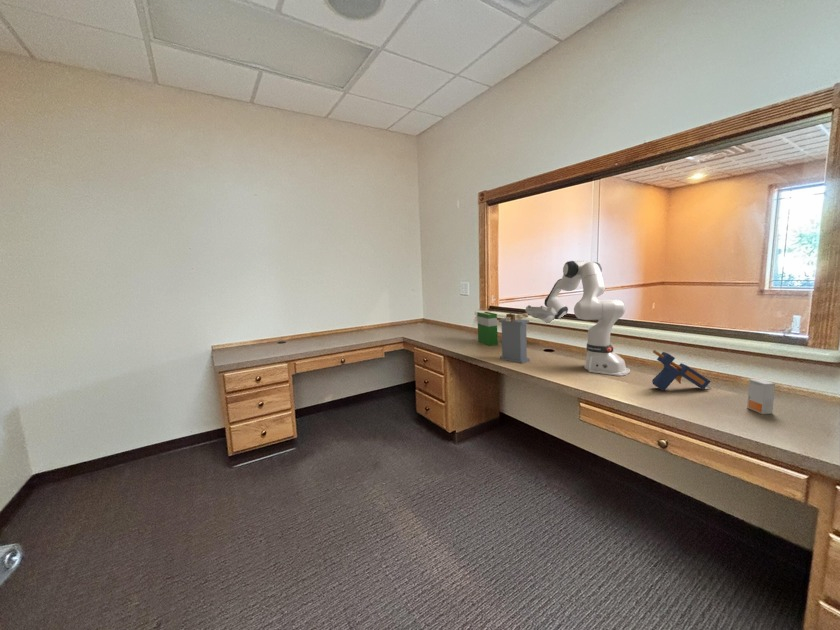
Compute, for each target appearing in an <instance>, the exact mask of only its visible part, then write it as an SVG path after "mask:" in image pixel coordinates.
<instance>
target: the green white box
mask: <svg viewBox="0 0 840 630" xmlns="http://www.w3.org/2000/svg"><path fill="white" fill-rule="evenodd" d="M476 315H477V317H476V318H477V342H478V343H480V344H482V345H486V346H488V347H490V346H491V347H492V346H498V343H499V342H498V313H494V312H488V311H484V312H480V311H479V312H476Z"/></svg>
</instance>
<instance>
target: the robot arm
mask: <svg viewBox="0 0 840 630" xmlns="http://www.w3.org/2000/svg"><path fill="white" fill-rule="evenodd" d="M602 268H603V267H602V265H601V264H600V263H599V262H595V261H585V260H569V261H568V260H567V262H565V264H563V268H562V273H563V275H562V277H561V278H560V279H558V280H557V281H555V283H554V285H553V286H552V288H551V290H550V292H549V294H548V295H547V297H546V298H545V299H544V303H543V304H544V305H540V306H531V305H527V306H526V307H525V313H528V316H531V317H532V318H534V319H538V320H542V321H543V322H544V323H546V324H547V323H550V322H551V321H552V320H554V319H559V318H561V317H563V316H564V315H567V314H568V311H569V307H568V306H567V305H565V303H563V301H562V300H561V299H560V298H559V297H558V296H559V294H560V293H561V290H563V291H565V292H571V291H574V290H576V289H577V288H578V287H579V285H580V282H581V284H582V290H583V292H582V293H583V294H582V297H581V298H580V300H579V301H578V302H576V303H575V304H574V308H573V313H574V315H575V317H576V319H579V320H580V319H581V320H583V321H584V320H585V321H590V320H592V321H594V320H595V321H596V320H597V322H596V324H594V325H593V326H591V327H589V329H587V343H586V359H585V362H584V363H585V364H584V366H583V368H584V369H585V370H587V371H588V372H589V373H595V374H602V375H610V376H616V377H617V376H618V377H620V376H621V377H623V376H626V375H629V374H630V372H631V370H630V368H628V367H626V362H625V359H624V358H623V357H621V356H620V355H619V354H617V353H616V352H615V351H614V349H615V345H613V346H612V344H611V332H612V330H613V326H614V324H616V323H617V321H618V320H619V319H621V318H622V317H623V316H624V315H625V312H626V307H625V304H624V303H623V300H619V299H613V298H612V299H611V298H610V299H609V298H607V299H598V297H601V295H603V294H604V292H605V291H606V285H605V281H604V280H605V279H604V277H603V274H602V270H603V269H602ZM566 313H567V314H566ZM563 318H564V317H563Z"/></svg>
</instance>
